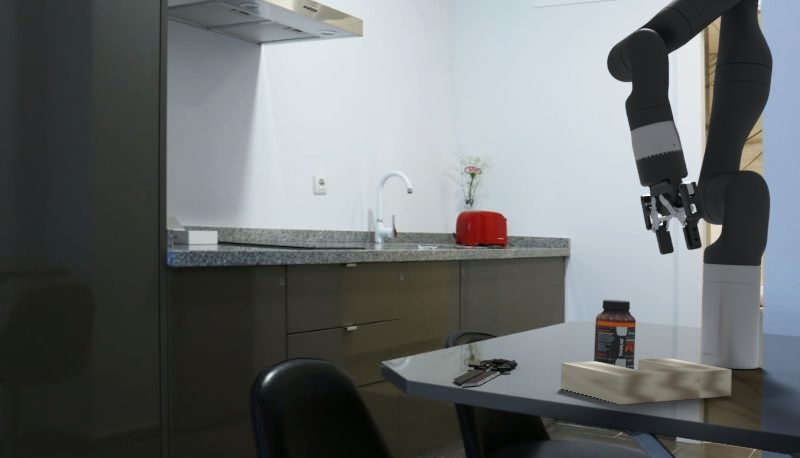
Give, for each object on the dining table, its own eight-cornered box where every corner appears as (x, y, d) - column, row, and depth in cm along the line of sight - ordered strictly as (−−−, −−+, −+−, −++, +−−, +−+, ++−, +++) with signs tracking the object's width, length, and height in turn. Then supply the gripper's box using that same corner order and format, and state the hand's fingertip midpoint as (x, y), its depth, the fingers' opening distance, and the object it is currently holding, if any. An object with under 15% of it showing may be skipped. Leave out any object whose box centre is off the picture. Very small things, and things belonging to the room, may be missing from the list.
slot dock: (668, 382, 121) (668, 358, 121) (730, 395, 112) (731, 369, 112) (560, 389, 112) (561, 362, 112) (619, 404, 102) (620, 375, 102)
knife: (472, 393, 109) (472, 382, 109) (426, 387, 112) (427, 377, 112) (528, 369, 132) (529, 360, 132) (489, 365, 135) (490, 356, 135)
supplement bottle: (632, 379, 123) (634, 302, 123) (591, 375, 125) (593, 300, 125) (635, 373, 129) (637, 300, 129) (596, 370, 131) (598, 298, 131)
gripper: (702, 140, 129) (726, 243, 128) (657, 158, 143) (678, 251, 142) (659, 148, 128) (683, 252, 127) (617, 165, 142) (638, 259, 140)
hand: (680, 251), depth 134 cm, fingers open, 8 cm apart
